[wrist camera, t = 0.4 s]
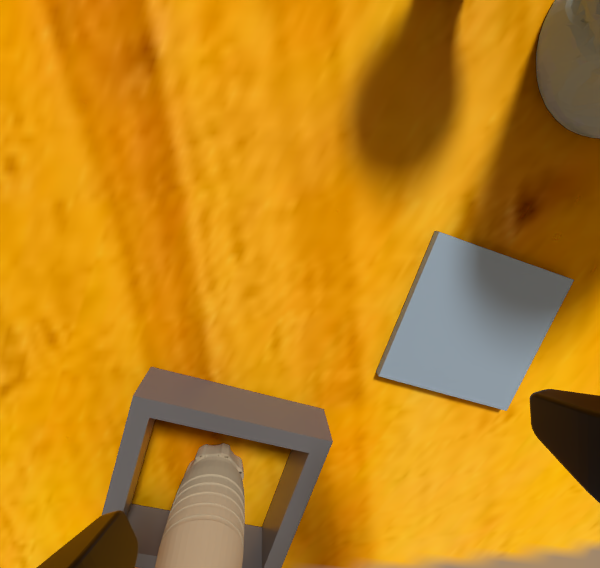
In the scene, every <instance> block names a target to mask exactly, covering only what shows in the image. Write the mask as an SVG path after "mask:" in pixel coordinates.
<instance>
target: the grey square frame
mask: <svg viewBox="0 0 600 568" xmlns="http://www.w3.org/2000/svg"><path fill="white" fill-rule="evenodd" d="M155 419H158V420H162V421H167V422H171V423H176V424H180V425H185V426H189V427H194V428H198V429H203V430H207V431H212V432H216V433H221V434H225V435H230V436H234V437H239V438H243V439H248V440H252V441H257V442H261V443H266V444H270V445H275V446H279V447H284V448H288V449H292V450H291V452H290V455H289V458H288V460H287V463H286V466H285V468H284V471H283V473H282V476H281V479H280V481H279V484H278V486H277V489H276V492H275V494H274V497H273V500H272V502H271V505H270V507H269V510H268V513H267V515H266V518H265V521H264V523H263V526H262V527H257V526H251V525H246V524H244V551H243V563H242V568H281V567H282V565H283V562H284V560H285V557H286V555H287V552H288V550H289V547H290V545H291V543H292V540H293V538H294V535H295V533H296V530H297V528H298V525H299V523H300V520H301V518H302V516H303V513H304V511H305V508H306V506H307V503H308V501H309V498H310V496H311V493H312V491H313V489H314V486H315V484H316V481H317V479H318V476H319V474H320V471H321V469H322V467H323V464H324V462H325V459H326V457H327V454H328V452H329V449H330V447H331V444H332V442H333V441H332V438H331V434H330V430H329V427H328V423H327V420H326V416H325V412H324V409H321V408H317V407H313V406H309V405H304V404H300V403H296V402H292V401H288V400H284V399H280V398H276V397H272V396H268V395H264V394H260V393H256V392H252V391H248V390H243V389H239V388H235V387H231V386H227V385H223V384H219V383H215V382H211V381H207V380H203V379H199V378H195V377H191V376H187V375H183V374H178V373H174V372H170V371H166V370H162V369H158V368H154V367H151V368H150V369H149V371H148V372H147V374H146V376H145V377H144V379H143V381H142V382H141V384H140V385H139V387H138V389H137V390H136V392H135V394H134V395H133V398H132V402H131V406H130V410H129V414H128V418H127V421H126V425H125V429H124V433H123V437H122V440H121V444H120V448H119V452H118V456H117V459H116V463H115V467H114V471H113V475H112V478H111V482H110V486H109V490H108V494H107V498H106V501H105V505H104V509H103V513H102V515H104V514H107V513H111V512H114V511H118V510H121V511H123V512H124V513H125V514H126V516H127V518H128V520H129V522H130V524H131V526H132V529H133V531H134V533H135V535H136V537H137V541H138V555H137V560H136V565H135V567H138V568H155V565H156V560H157V556H158V551H159V547H160V544H161V540H162V536H163V533H164V530H165V526H166V523H167V520H168V517H169V514H170V511H168V510H163V509H157V508H152V507H146V506H141V505H135V504H131V503H132V500H133V496H134V493H135V489H136V486H137V482H138V479H139V475H140V471H141V468H142V464H143V461H144V457H145V454H146V450H147V447H148V443H149V439H150V436H151V432H152V429H153V425H154V422H155Z"/></svg>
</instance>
